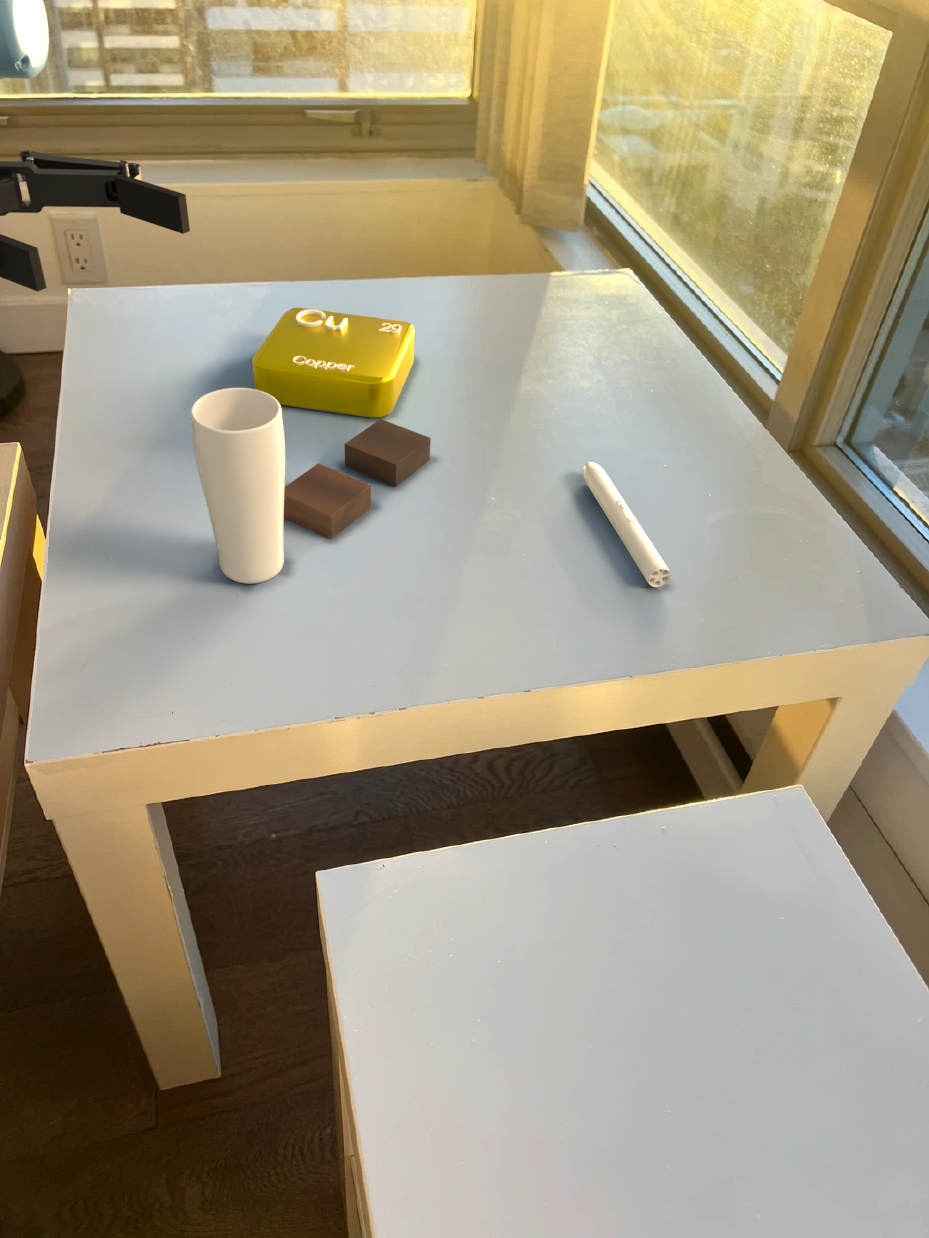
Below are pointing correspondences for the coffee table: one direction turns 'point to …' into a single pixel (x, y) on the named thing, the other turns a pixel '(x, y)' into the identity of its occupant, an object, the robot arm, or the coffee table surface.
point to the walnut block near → (326, 500)
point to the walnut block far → (387, 452)
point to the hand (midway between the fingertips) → (116, 240)
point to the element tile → (335, 362)
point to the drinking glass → (242, 479)
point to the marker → (626, 526)
